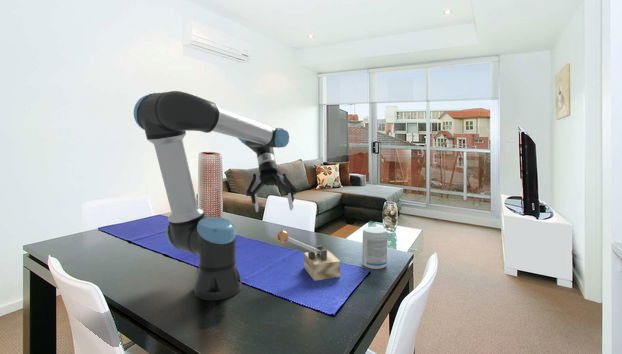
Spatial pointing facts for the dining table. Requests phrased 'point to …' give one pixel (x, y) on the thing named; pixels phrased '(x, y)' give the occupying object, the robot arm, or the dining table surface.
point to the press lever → (294, 241)
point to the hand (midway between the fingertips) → (274, 209)
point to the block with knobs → (321, 264)
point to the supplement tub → (374, 247)
